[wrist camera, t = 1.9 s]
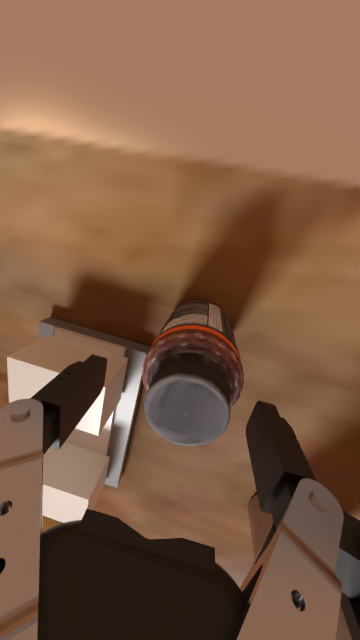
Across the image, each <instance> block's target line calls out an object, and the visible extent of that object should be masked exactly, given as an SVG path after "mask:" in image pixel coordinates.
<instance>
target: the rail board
mask: <svg viewBox="0 0 360 640" xmlns="http://www.w3.org/2000/svg"><path fill="white" fill-rule="evenodd" d="M149 349H150V346H147V345H144V344H140V343H137V342H134V341H130V340H127V339H123V338H120V337H117V336H113V335H110V334H106V333H103V332H100V331H96V330H93V329H89V328H86V327H83V326H79V325H76V324H73V323H69V322H66V321H62V320H59V319H56V318H52V317H49V318H47V319H44V320H42V321H39V340H38V341H36V342H34V343H32V344H31V345H29V346H27V347H25V348H23V349H21V350H19V351H17V352H15V353H13V354H11V355H9V356H8V357H7V366H8V389H9V403H11V402H13V401H16V400H20V399H30V398H31V397H32V396H33V395H35V394H36V393H37V392H38V391H39V390H40V389H42V388H43V387H44V386H45V385H46V384H48V383H49V382H50V381H51V380H52V379H53V378H55V377H56V376H57V375H58V374H59V373H61V372H62V371H63V370H64V369H65V368H66V367H68V366H69V365H71V364H73V363H75V362H78V361H81V362H84V361H85V360H86V359H87V358H88V357H90V356H91V355H92V354H93V355H97V356H101V357H104V358H107V368H106V376H105V383H104V387H103V389H102V391H101V393H100V395H99V396H98V398H97V399H96V400H95V402H94V403H93V404H92V406H91V407H90V408H89V410H88V411H87V412H86V414H85V415H84V417H83V418H82V419H81V421H80V422H79V423H78V425H77V426H76V427H75V429H74V430H73V432H72V433H71V434H70V436H69V437H68V438H67V440H66V441H65V442H64V444H63V445H62V446H61V448H60V449H59V450H58V449H55V448H51V447H50V448H49V449H48V450H47V452H46V453H45V454H44V455H43V510H42V515H43V516H46V517H49V518H52V519H55V520H58V521H60V522H63V523H66V522H70V521H75V520H82V518H83V516H84V513H85V511H86V509H90V510H93V509H94V507H95V505H96V503H97V500H98V498H99V496H100V494H101V492H102V490H103V487H104V485H105V484H106V485H109V486H112V487H115V488H117V487H118V484H119V482H120V479H121V477H122V473H123V468H124V464H125V459H126V455H127V450H128V446H129V441H130V437H131V433H132V428H133V424H134V419H135V415H136V410H137V406H138V401H139V397H140V392H141V388H142V383H143V378H142V369H143V363H144V360H145V357H146V355H147V352H148V351H149Z"/></svg>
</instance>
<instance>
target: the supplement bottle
mask: <svg viewBox="0 0 360 640" xmlns="http://www.w3.org/2000/svg"><path fill="white" fill-rule="evenodd" d="M243 375H244V373H243V367H242V364H241V359H240V355H239V352H238V348H237V345H236V342H235V338H234V334H233V330H232V326H231V323H230V320H229V318H228V316H227V315H226V313H225V312H224V311H223V310H222V309H221V308H220V307H219V306H217V305H216V304H214V303H212V302H209V301H206V300H192V301H188V302H186V303H184V304H182V305H180V306H179V307H178V308H177V309H176V310H175V311H174V312H173V313H172V314H171V316H170V318H169V319H168V321H167V322H166V324H165V325H164V327H163V328H162V330H161V331H160V333H159V334H158V336H157V338H156V339H155V341H154V342H153V344H152V346H151V347H150V349H149V351H148V352H147V355H146V357H145V360H144V363H143V369H142V378H143V384H144V387H145V390H146V392H147V394H146V397H145V401H144V411H145V416H146V419H147V421H148V423H149V424H150V425H151V427H152V428H153V429H154V431H155V432H157V433H158V434H159V435H160V436H162V437H163V438H165V439H166V440H168V441H170V442H173V443H176V444H179V445H185V446H199V445H205V444H207V443H211V442H213V441H214V440H216V439H217V438H218V437H220V436H221V435H222V434H223V432H224V431H225V430H226V428H227V426H228V424H229V420H230V409H231V408H232V407H233V406H234V404H235V403H236V402H237V400H238V399H239V397H240V394H241V392H242V389H243V381H244V378H243Z"/></svg>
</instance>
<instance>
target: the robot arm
mask: <svg viewBox="0 0 360 640" xmlns="http://www.w3.org/2000/svg"><path fill="white" fill-rule="evenodd" d="M106 368H107V358H104V357H101V356H97V355H93V354H92V355H91V356H90V357H88V358H87V359H86V360H85V361H84V362H81V361H78V362H75V363H73V364H71V365H69V366H68V367H66V368H65V369H64V370H63V371H62V372H61V373H59V374H58V375H57V376H56V377H55V378H53V379H52V380H51V381H50V382H49V383H48V384H46V385H45V386H44V387H43V388H42V389H40V390H39V391H38V392H37V393H36V394H35V395H33V396H32V397H31V398H30V399H20V400H16V401H13V402H11V403H9V404H7V405H5V406H4V407H3V408H1V409H0V640H360V521H359V520H358V519H356V518H354V517H352V516H351V515H349V514H347V513H346V512H344V511H343V510H342V509H341V506H340V504H339V503H338V501H337V500H336V498H335V497H334V496H333V495H332V493H331V492H330V491H329V490H328V489H327V488H325V487H324V486H323V485H321V484H320V483H318V482H317V481H316V479H315V477H314V475H313V473H312V471H311V468H310V466H309V464H308V462H307V460H306V457H305V455H304V453H303V451H302V449H301V448H300V444H299V442H298V440H296V436H295V433H294V431H293V429H292V427H291V426H290V425H289V424H288V423H287V421H286V420H285V419H284V418H281V417H280V416H279V413H278V411H277V408H276V406H275V405H273V404H270V403H266V402H262V401H258V402H257V403H256V405H255V407H254V409H253V412H252V414H251V416H250V418H249V420H248V423H247V426H246V438H247V443H248V449H249V454H250V459H251V464H252V469H253V474H254V479H255V484H256V489H257V495H255V496H254V497H253V498H252V500H251V501H250V503H249V506H248V514H249V521H250V528H251V535H252V543H253V550H254V558H255V560H254V562H253V565H252V567H251V569H250V571H249V573H248V575H247V576H246V578H245V580H244V582H243V583H242V585H241V587H240V588H239V587H238V585H237V584H236V583H235V581H234V580H233V579H232V578H231V577H230V575H229V574H228V573H227V572H226V571H225V570H224V569H223V568H222V567H221V566H219V565H218V564H217V563H215V548H213V547H210V546H207V545H203V544H200V543H197V542H194V541H191V540H187V539H184V538H173V539H153V540H150V539H146V538H144V537H143V536H142V535H140V534H139V533H137V532H136V531H135V530H133V529H132V528H131V527H129V526H128V525H127V524H125V523H124V522H122V521H121V520H120V519H118V518H116V517H113V516H110V515H106V514H103V513H100V512H97V511H93V510H90V509H86V511H85V513H84V516H83V518H82V520H75V521H70V522H66V523H62V524H59V525H57V526H55V527H52V528H50V529H48V530H46V531H45V532H43V533H42V510H43V455H44V454H45V453H46V452H47V450H48V449H49V448H50V447H51V448H55V449H58V450H59V449H60V448H61V446H62V445H63V444H64V442H65V441H66V440H67V438H68V437H69V436H70V434H71V433H72V432H73V430H74V429H75V427H76V426H77V425H78V423H79V422H80V421H81V419H82V418H83V417H84V415H85V414H86V412H87V411H88V410H89V408H90V407H91V406H92V404H93V403H94V402H95V400H96V399H97V398H98V396H99V395H100V393H101V391H102V389H103V387H104V383H105V376H106Z"/></svg>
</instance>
